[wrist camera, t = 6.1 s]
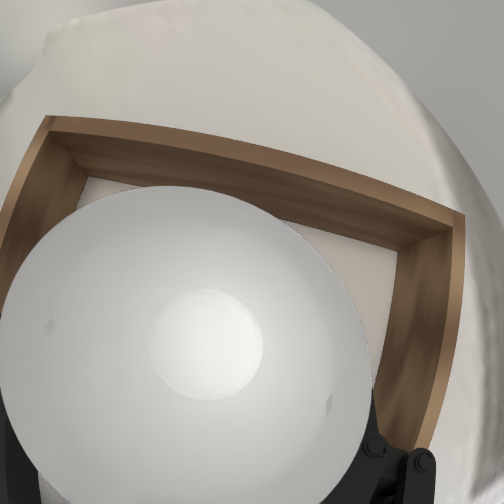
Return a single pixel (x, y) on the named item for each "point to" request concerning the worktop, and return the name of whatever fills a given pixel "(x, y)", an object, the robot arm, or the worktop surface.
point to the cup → (183, 355)
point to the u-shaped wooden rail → (280, 206)
